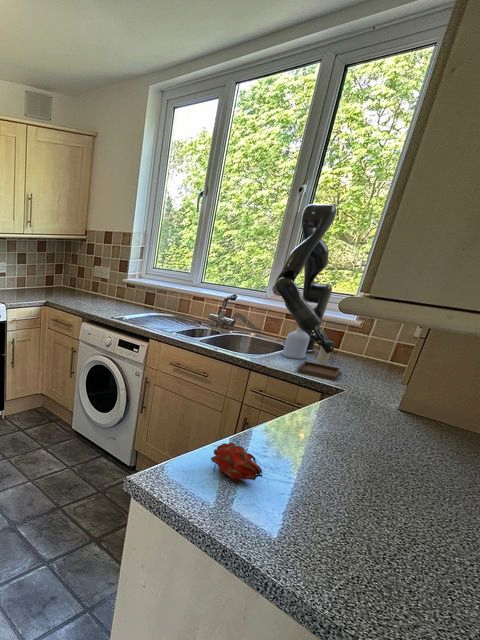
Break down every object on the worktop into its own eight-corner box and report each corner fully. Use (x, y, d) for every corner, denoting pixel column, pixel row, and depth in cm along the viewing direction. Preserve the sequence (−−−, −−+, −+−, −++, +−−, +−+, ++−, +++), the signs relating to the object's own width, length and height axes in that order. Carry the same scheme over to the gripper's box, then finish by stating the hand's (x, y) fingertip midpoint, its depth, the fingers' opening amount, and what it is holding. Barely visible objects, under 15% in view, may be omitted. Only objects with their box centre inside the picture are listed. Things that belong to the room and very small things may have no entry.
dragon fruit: (208, 466, 104) (251, 497, 95) (197, 458, 98) (243, 490, 89) (228, 440, 103) (274, 469, 95) (219, 430, 97) (267, 460, 89)
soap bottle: (286, 352, 203) (300, 303, 194) (306, 357, 196) (322, 306, 187) (279, 355, 197) (293, 304, 188) (299, 360, 191) (315, 308, 182)
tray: (303, 364, 185) (305, 361, 184) (338, 371, 177) (340, 368, 176) (297, 372, 174) (298, 368, 173) (334, 380, 166) (335, 376, 165)
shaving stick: (316, 359, 176) (323, 339, 173) (328, 361, 174) (334, 341, 171) (315, 361, 173) (321, 340, 170) (326, 363, 171) (333, 343, 168)
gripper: (312, 314, 166) (338, 349, 163) (317, 310, 176) (342, 343, 173) (294, 325, 171) (319, 359, 168) (300, 320, 181) (323, 352, 178)
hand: (330, 351), depth 171 cm, fingers closed on shaving stick, 4 cm apart
